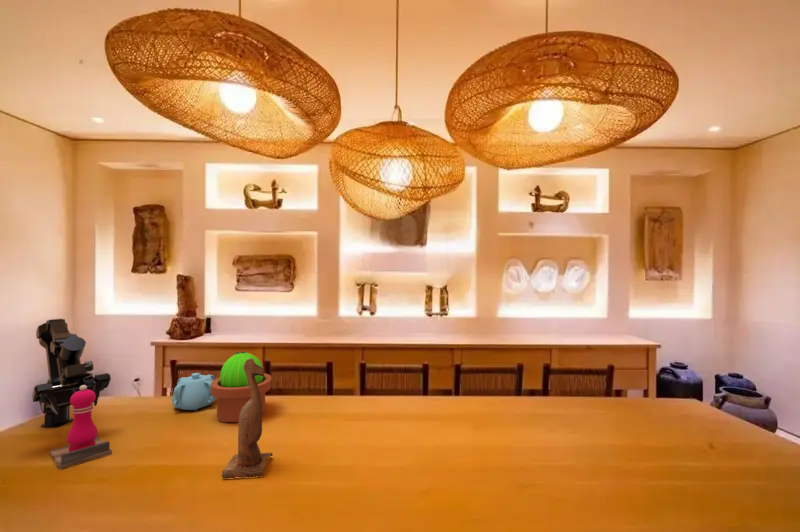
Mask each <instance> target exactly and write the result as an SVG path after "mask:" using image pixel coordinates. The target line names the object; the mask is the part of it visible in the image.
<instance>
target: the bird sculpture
mask: <svg viewBox="0 0 800 532" xmlns="http://www.w3.org/2000/svg"><path fill="white" fill-rule="evenodd" d="M262 367H263V366H262ZM262 367H261V366H259V365H257V364H256V363H255V362H254V360H253V358H249V359H247V360H246V361H245V363H244V371H245V373H246V376H247V380H248V384H249V389H250V395H251V399H250V400H249V401H248V402H247V403H246V404H245V405H244V407H243V408H242V409H241V412H240V415H239V422H238V429H237V430H238V431H237V432H238V433H237V453H238V454H233V456H232V458H231V459H230V460H229V461H228V463H227V465H226V466H225V467H224V468H223V470H222V471H221V479H222V478H224V479H225V478H234V479H235V477H243V478H244V477H248V478H249V477H254V476H255V477H256V476H257V477H258V476H259V477H260V476H262V477H263V476H264V471H265V467H266V465H267V463H268V460H269V457H270V456H273V457H274V454H273V452H261V450H260V447H259V443H258V442H259V440H260V439H261V437H262V434H263V415H262V398H261V393H260V390H259V387H258V384H257V381H256V379H255V376H257V375H260V376H264V373H265V371H264V367H263V368H262ZM236 459H237V460H236ZM257 477H256V478H257Z"/></svg>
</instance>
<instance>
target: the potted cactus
mask: <svg viewBox="0 0 800 532" xmlns="http://www.w3.org/2000/svg"><path fill="white" fill-rule="evenodd" d="M249 358H253V360H254V362H255V363H256V364H257V365H259V366H261V367H262V368H263V369H264V368H265V367H264V366H263V363H262V361H260V359H259V358H258V357H257V356H256V355H255V354H252V353H250V352H246V351H241V352H239V351H236V352H234V353H233V354H232V356H230V357H229V358H228V359H227V360H225V362H224V363H223V364H222V365H223V366H222V368H221V371H219V372H220V374H219V377H217V378H215V380H214V381H213V382H212V383H211V395H212V396H213V397H216V401H217V404H216V406H217V407H216V411H217V412H216V417H217V420H218V421H220V422H222V423H227V422H238V423H239V415H240V412H241V409H242V408H243V407H244V405H245V404H246V403H247V402H248V401H249V400H250V399H251V395H250V389H249V384H248V380H247V376H246V373H245V371H244V363H245V361H246V360H247V359H249ZM255 379H256V381H257V384H258V387H259V390H260V393H261V398H262V414H263V415H264V414H265V411H266V393H267V392H268V391H270V390H271V389H272V376H271V375H270V374H269V373H266V372H264V376H260V375H257V376H255Z"/></svg>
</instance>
